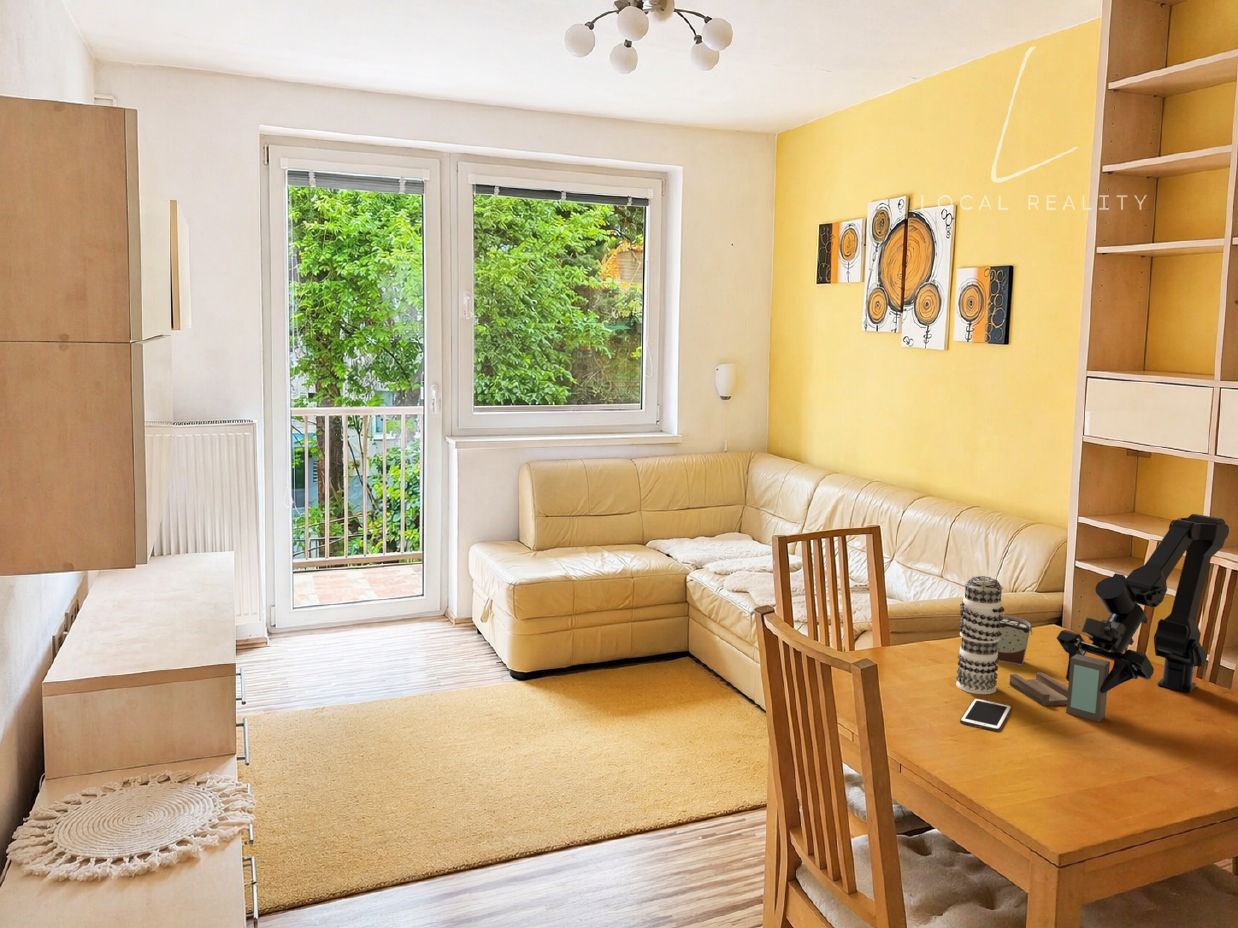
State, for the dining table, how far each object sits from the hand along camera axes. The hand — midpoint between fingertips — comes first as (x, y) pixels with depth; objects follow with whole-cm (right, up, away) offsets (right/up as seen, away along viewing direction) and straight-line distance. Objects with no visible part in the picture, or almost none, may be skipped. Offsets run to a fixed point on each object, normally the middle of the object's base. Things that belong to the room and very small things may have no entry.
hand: (1084, 685), depth 193 cm
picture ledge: (-3, -5, +13) cm, 14 cm away
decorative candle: (-16, -4, +16) cm, 23 cm away
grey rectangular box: (+1, -6, +2) cm, 7 cm away
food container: (-2, -2, +35) cm, 36 cm away
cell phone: (-20, -7, +1) cm, 21 cm away
